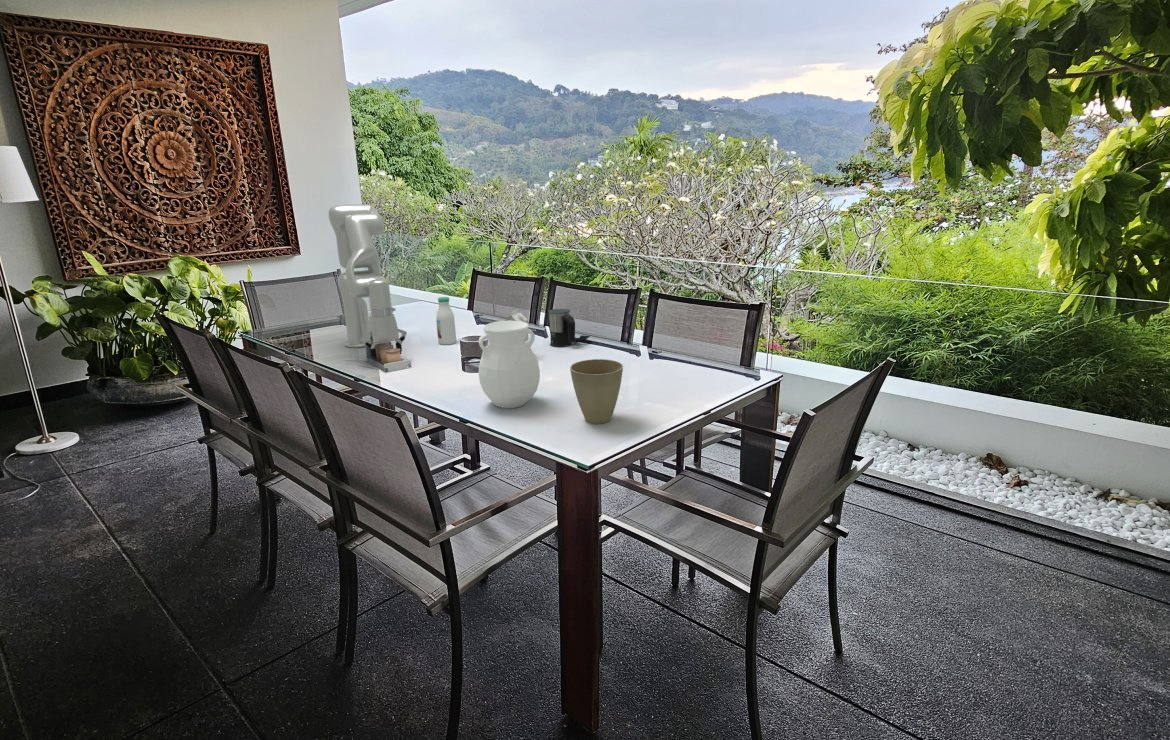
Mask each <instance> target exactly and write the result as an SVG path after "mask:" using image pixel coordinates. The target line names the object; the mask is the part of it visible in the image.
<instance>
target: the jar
mask: <svg viewBox="0 0 1170 740" xmlns="http://www.w3.org/2000/svg"><path fill="white" fill-rule="evenodd" d="M391 348H394V345H393V344H391V345H390V344H388V345H381V346H379V349H380V358H381V361H380V364H382V365H383V366H384V364H387V356H386V351H385V350H387V349H391Z"/></svg>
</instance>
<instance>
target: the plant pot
mask: <svg viewBox="0 0 1170 740" xmlns="http://www.w3.org/2000/svg"><path fill="white" fill-rule="evenodd" d="M569 370H570V375H571V380H572V384H573V389H574V393H575V396H576V399H577V402H578V405H579V408H580V411H581V413H582V415H583V417H584V419H585V421H586V422H587V423H590V424H596V425H597V424H598V425H599V424H606V423H608V422H610V421H611V420H612V416H613V415H614V411H615V409H616V406H617V401H618V398H619V394H620V390H621V385H622V379H623V371H624V364H623V363H621V362H619V361H616V360H612V359H606V358H604V359H603V358H596V359H594V358H593V359H585V360H580V361H575V362H574V363H572V364H571V365H570V367H569Z"/></svg>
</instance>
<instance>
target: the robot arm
mask: <svg viewBox="0 0 1170 740" xmlns="http://www.w3.org/2000/svg"><path fill="white" fill-rule="evenodd" d="M382 217H383V216H381V214H380V212H379V211H378V210H377V209H376V208H375V207H374V206H373V205H371V204H367V203H364V204H363V203H361V204H337V205H333V206H331V207H330V208H329V210H328V219H329V223H330V226H331V228H332V229H333V232H334V234H335V238H336V239H335V240H336V247H337V254H338V261H339V264H340V266H341V267H342V268H343V269H345V272H343V273H341V274H339V275H338V277H337V284H338V285H337V286H338V288H339V292H340V295H341V299H342V306H343V312H344V320H345V326H346V327H345V328H346V334H347V335H346V336H347V341H345V342H344V346H345V347H346V346H347V347H346V348H366V346H368V347H369V348H370V353H371V357H372V358H374V359H376V358H377V356H376V349H375V348H374V347H375V345H376V344H377V343H382V342H388V341H391V342H393V341H395V342H396V343H395V348H399V349H400V355H402V351H403V348H402V344H403V342H404V341H405V340H406V336H407V333H408V332H407V331H406V330H403V329H401V328H398V324H397V320H396V317H395V314H393V313H394V312H396V307H392V299H391V290H390V283H389V280H387V279H386V278H385V277H384V276H381V275H382V274H381V265H380V256H379V252H378V249H377V248H376V247H375V245H374V242H373V238H372V236H378V235H379V236H380V235H382V234H383V233H384V231H385V224H384V220H383V218H382ZM363 268H367V270H355V269H363ZM364 298H369V303H370V304H369V305H370V313H371V314H370V316H369V310H368V305H367V302H366V300H365V299H364ZM399 333H400V334H401V335H399ZM399 336H400V337H399Z"/></svg>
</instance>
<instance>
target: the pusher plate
mask: <svg viewBox="0 0 1170 740" xmlns="http://www.w3.org/2000/svg"><path fill="white" fill-rule="evenodd" d="M388 344H390V345H392V341H388V342H382V343H377V344H376V345H375V347H374V348H375V349H376V356H377V358H376V359H374V360H375V361H377V362H378V363H379V362H381V358H380V349H379V346H381V345H388Z"/></svg>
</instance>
